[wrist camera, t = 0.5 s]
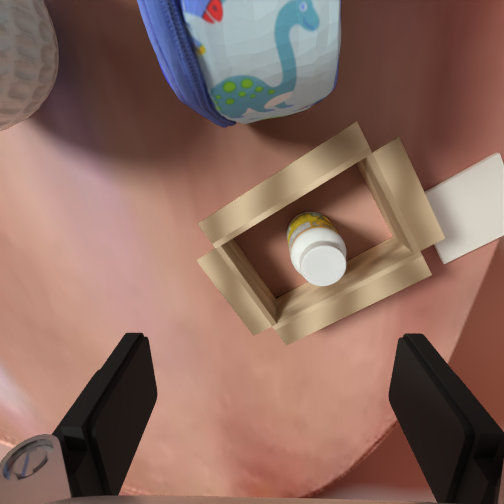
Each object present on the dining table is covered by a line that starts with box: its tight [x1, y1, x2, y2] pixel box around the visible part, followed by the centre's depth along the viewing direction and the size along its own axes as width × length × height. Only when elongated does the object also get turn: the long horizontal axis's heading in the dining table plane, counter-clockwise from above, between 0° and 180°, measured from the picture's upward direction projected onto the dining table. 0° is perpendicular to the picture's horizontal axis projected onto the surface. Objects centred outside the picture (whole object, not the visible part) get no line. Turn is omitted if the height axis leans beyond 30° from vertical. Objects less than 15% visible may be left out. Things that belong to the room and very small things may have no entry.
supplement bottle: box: [287, 212, 346, 286], centre depth 31 cm, size 5×5×10 cm
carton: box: [196, 121, 445, 345], centre depth 33 cm, size 22×17×6 cm
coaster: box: [425, 153, 504, 264], centre depth 34 cm, size 9×9×1 cm
